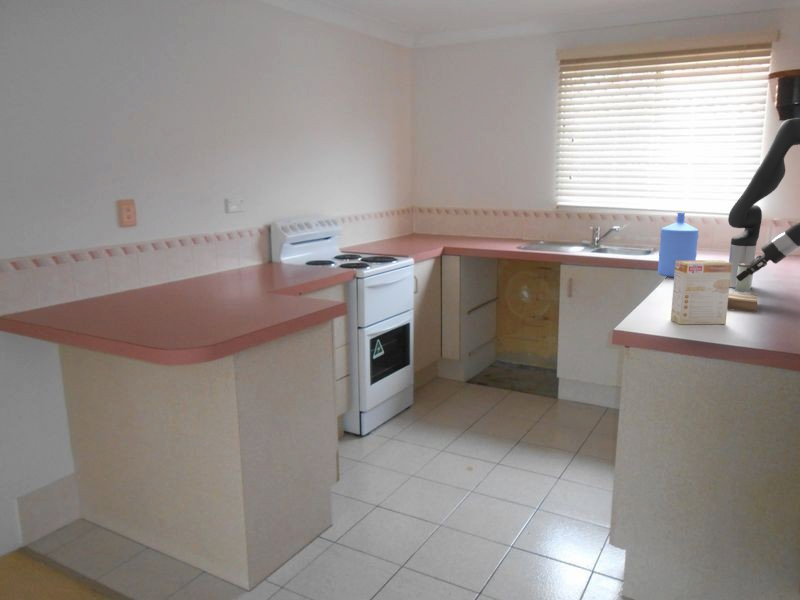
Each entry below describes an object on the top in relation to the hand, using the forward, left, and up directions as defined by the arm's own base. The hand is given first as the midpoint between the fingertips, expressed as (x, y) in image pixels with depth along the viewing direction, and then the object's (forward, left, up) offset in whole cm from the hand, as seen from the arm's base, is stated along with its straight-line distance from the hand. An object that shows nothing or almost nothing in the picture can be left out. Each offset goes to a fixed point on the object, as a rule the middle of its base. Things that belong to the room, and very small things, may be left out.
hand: (738, 277), depth 242 cm
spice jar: (0, +2, -5) cm, 5 cm away
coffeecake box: (+45, -9, -9) cm, 47 cm away
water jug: (-49, -26, -9) cm, 57 cm away
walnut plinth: (+14, +2, -8) cm, 17 cm away
